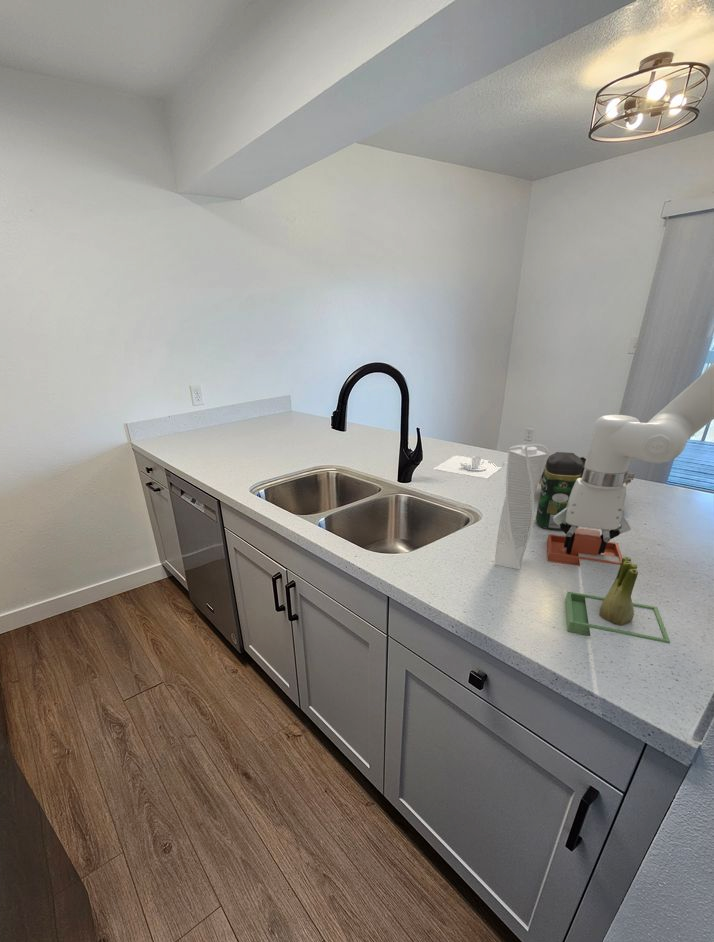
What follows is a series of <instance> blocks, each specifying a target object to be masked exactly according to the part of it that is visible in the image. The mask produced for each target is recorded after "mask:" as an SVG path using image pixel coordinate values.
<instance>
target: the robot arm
mask: <svg viewBox="0 0 714 942" xmlns="http://www.w3.org/2000/svg"><path fill="white" fill-rule="evenodd" d="M713 420H714V362H712V363H711V364H710V365H709V366H708V367H707V368H706V369H705V370H704V371H703V373H702V374H700V376H698V378H696V379H694V381H693V382H692V383H690V385H688V386H686V388H684V389H683V390H682V391H681V392H680V393H679V394H678V395H676V397H674V398H673V400H671V401H669V403H668V404H667V405H665V406H664V407H663V408H662V409H661V410H659V412H657V413H656V414H655V415H654V416H652V418H651V419H649V420H648V421H647V422H640V420H639V419H638V418H637V417H634V416H631V415H625V414H606V415H602V416H600V417H599V418H597V419H596V420H595V422H594V426H593V430H592V434H591V438H590V442H589V446H588V450H587V454H586V457H585V459H586V462H585V465H584V470H583V474H582V478H578V479H577V480H576V482H575V484H574V486H573V488H572V491H571V494H570V497H569V500H568V503H567V507H566V508H565V509H563V510H562V511H561V512H559V513H558V514H557V515H555V516H554V517H553V521H554V522H555V523H556V524H557V525H558V526H559V527H560V528H561V531H562V532H563V533H564V534H565V536H566V538H565V542H564V547H565V548H566V549H567V553H571V549H572V545H573V541H574V532H575V531H576V529H577V528H589V529H597V530H601V534H600V536H601V540H602V541H601V545H600V548H599V552H598V555H599V556H600V554H601V553H604V551H605V548H606V544H607V542H611V540H613V539H614V538H616V537H618V536H620V535H622V534H624V533H627V532H629V531H631V529H632V528H631V526H630V524H629V522H628V521H627V519H626V518H625V516H624V515H623V513H624V510H625V509H624V508H625V503H626V496H627V485H626V483H625V481H626V480H631V481H633V480H634V479H635V473H632V472H629V471H628V470H629V466H630V463H631V459H635V460H639V461H641V462H642V461H643V462H647V463H650V464H651V463H653V464H664V463H668V462H670V461H673V460H674V459H677V458H678V457H679V456H680V455H681V454H682V453H683V451H684V450H685V447H686V445H687V443H688V440H689V439H691V438H692V437H693V436H694V435H695V434H696V433H698V432H700V430H702V429H703V428H704V427H706V425H708V424H709V423H710V422H712V421H713ZM564 517H566V523H568V524H569V525H567V524H566V523H565V522H564V521H563V520H562V519H563V518H564Z"/></svg>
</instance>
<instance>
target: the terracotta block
mask: <svg viewBox="0 0 714 942" xmlns="http://www.w3.org/2000/svg"><path fill="white" fill-rule="evenodd" d="M601 541H602V540H601V532H600V530H594V529H587V528H580V527H578V528H577V529H576V531H575V532H574V541H573V545H572V549H571V553H570V555H573V556H580V555H585V556H586V555H587V556H594V557H598V555H599V554H598V552H599V548H600V545H601Z"/></svg>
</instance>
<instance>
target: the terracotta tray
mask: <svg viewBox="0 0 714 942" xmlns="http://www.w3.org/2000/svg"><path fill="white" fill-rule="evenodd" d="M565 538H566V535H560V534H559V535H558V534H551V533H548V534H547V538H546V558H547V559H546V560H547V562H551V563H556V564H557V563H558V564H564V565H571V566H578V567H581V561H580V560H583V561H584V560H585V561H590V562H591V561H592V562H599V563H604V564H605V563H606V564H611V565H619V566H620V565H621V562H622V558H623V554H622V551H621V548H620V546H619V543H618V542H612V541H609V542H607V544H606V548H605V551H604V553H601V554H600V555H601V556H607V557H615V558H618V560H619V561H614V560H608V559H601V558H592V557H587V556H581V555H579V556H573V555H570V553H567V549H566V548H565V547H564V542H565ZM600 555H599V556H600Z"/></svg>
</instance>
